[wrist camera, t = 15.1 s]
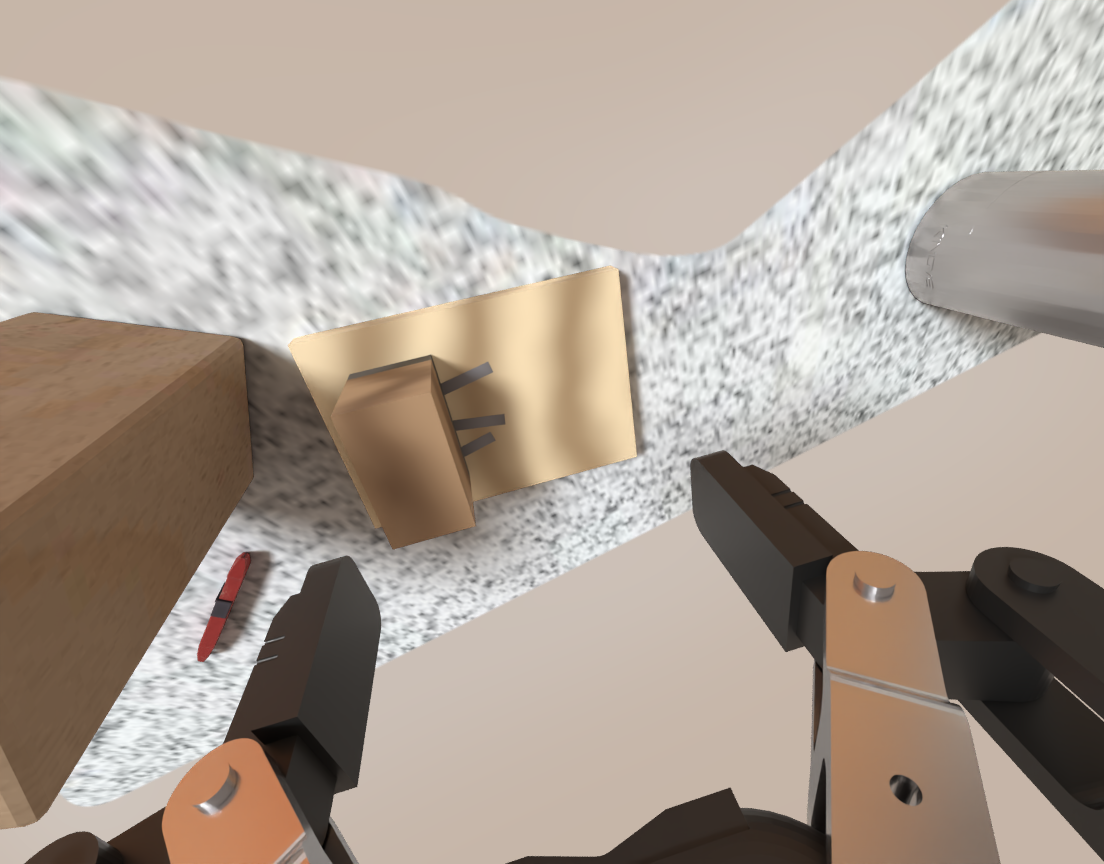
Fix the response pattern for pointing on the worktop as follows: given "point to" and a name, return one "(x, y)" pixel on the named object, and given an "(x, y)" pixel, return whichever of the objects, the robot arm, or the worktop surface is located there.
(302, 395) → the worktop surface
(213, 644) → the utility knife
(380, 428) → the block
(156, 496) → the wooden block
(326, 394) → the pine board
